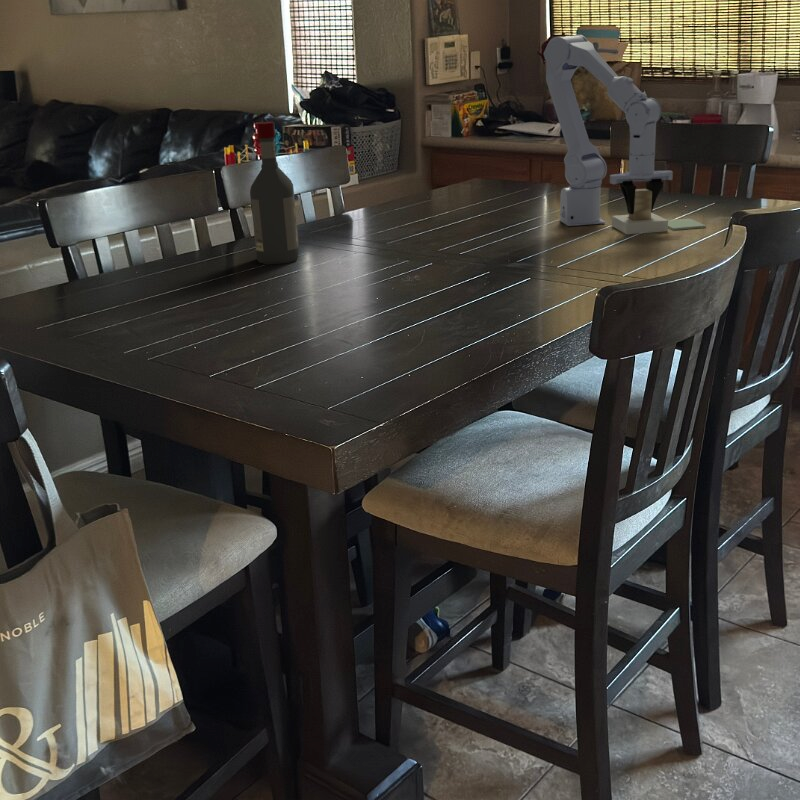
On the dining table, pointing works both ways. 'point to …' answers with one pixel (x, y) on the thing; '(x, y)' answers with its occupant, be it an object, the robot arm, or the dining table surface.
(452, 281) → the dining table surface
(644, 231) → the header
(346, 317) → the dining table surface
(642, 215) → the plug
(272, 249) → the liquor
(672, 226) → the mat
